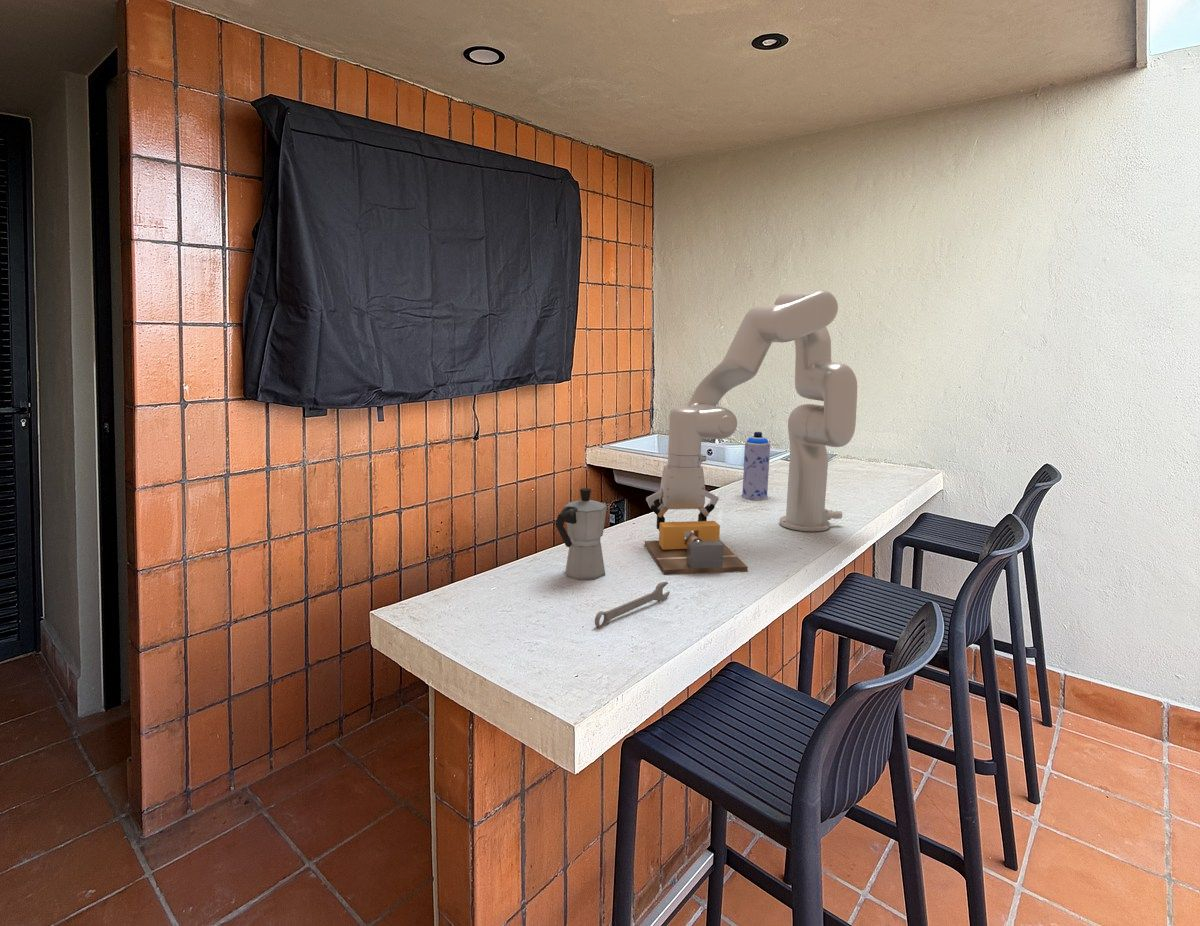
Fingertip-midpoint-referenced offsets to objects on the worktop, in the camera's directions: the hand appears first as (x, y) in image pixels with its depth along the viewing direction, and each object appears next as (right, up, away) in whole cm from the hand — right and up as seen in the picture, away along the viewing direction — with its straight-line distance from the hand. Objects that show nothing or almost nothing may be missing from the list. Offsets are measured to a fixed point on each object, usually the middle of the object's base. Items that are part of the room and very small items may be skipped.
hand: (681, 531), depth 165 cm
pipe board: (+2, -5, -10) cm, 11 cm away
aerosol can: (+28, +6, +47) cm, 55 cm away
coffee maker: (-23, -7, -21) cm, 32 cm away
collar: (+1, -3, -6) cm, 7 cm away
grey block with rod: (+2, -4, -10) cm, 11 cm away
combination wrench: (-13, -11, -40) cm, 43 cm away
